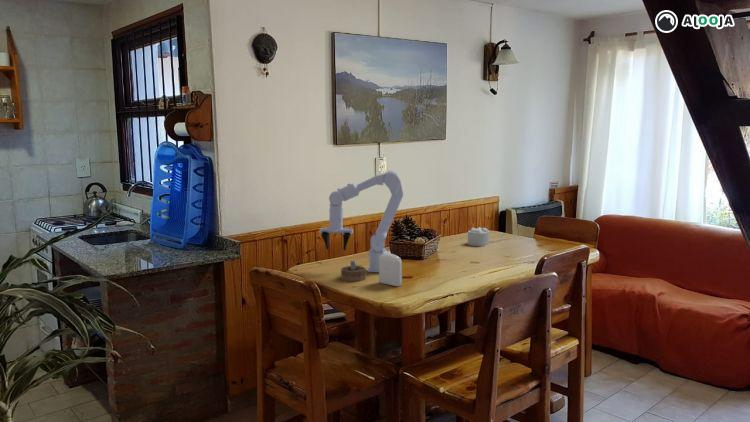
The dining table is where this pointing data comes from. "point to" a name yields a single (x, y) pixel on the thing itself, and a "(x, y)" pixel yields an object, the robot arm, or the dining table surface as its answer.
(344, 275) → the bead
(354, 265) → the dark grey capsule
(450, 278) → the dining table surface
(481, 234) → the lumpy-topped squat cylinder
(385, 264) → the white upright block
